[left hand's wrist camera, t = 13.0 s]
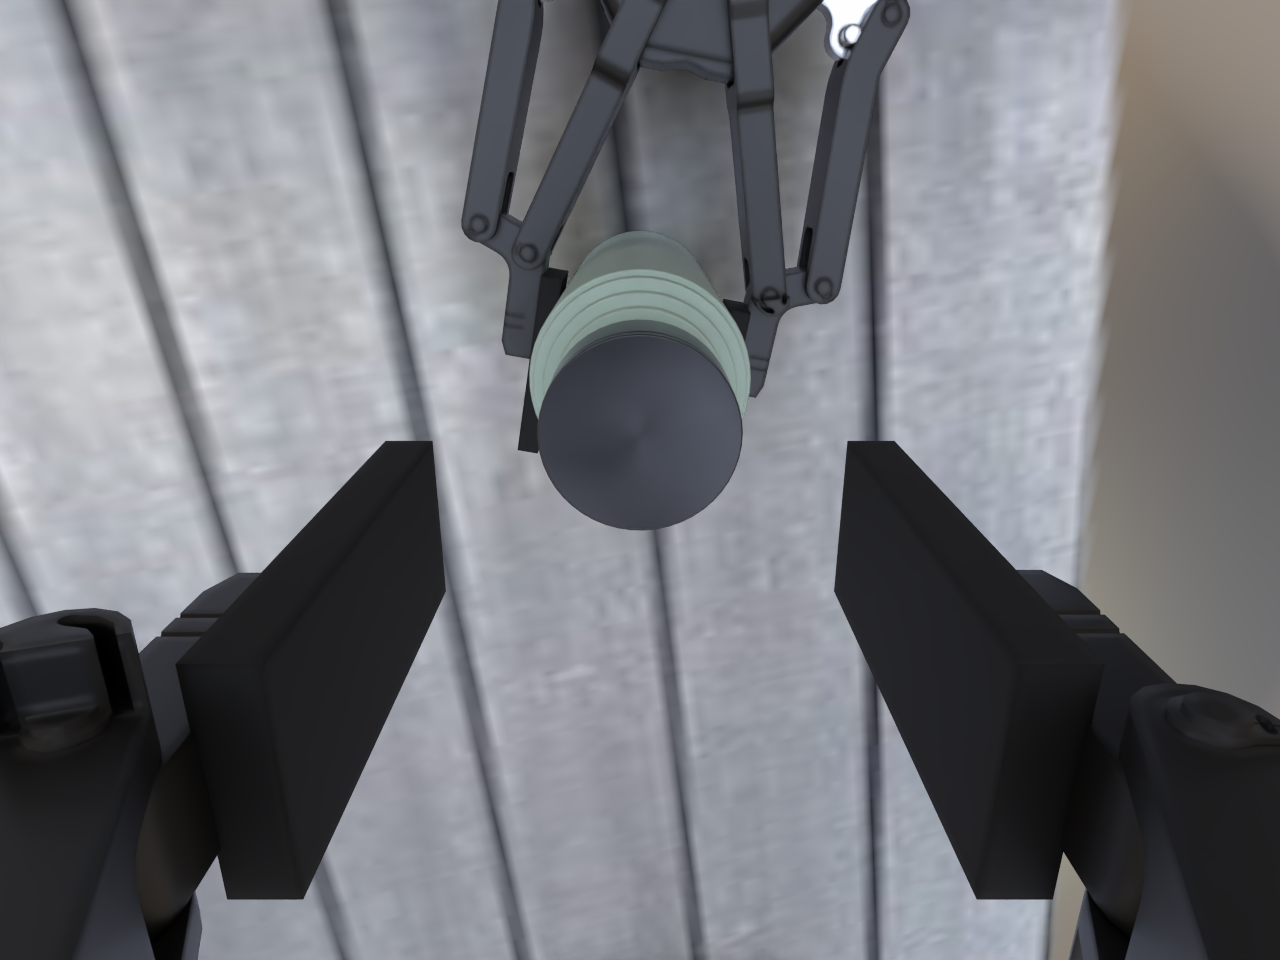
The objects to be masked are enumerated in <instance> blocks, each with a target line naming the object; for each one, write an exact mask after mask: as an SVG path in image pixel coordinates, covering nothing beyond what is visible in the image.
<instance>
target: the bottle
mask: <svg viewBox="0 0 1280 960" xmlns="http://www.w3.org/2000/svg"><path fill="white" fill-rule="evenodd" d="M636 319H637V320H653V321H659V322H664V323H667V324H670V325H674V326H676V327H678V328H681V329H683V330H685V331H687V332H688V333H690V334H691V335H693V336H695V337H696V338H697V339H699V340H700V341H701V342H702V343H704V344H705V345H706V346H707V347H708V348H709V349H710V350H711V352H712V353H713V354H714V355H715V356H716V358H717V359H718V361H719V362H720V364H721V365H722V367H723V369H724V371H725V373H726V375H727V377H728V379H729V382H730V384H731V386H732V389H733V391H734V394H735V396H736V399H737V402H738V405H739V408H740V413H741V418H743V415H744V412H745V410H746V407H747V403H748V398H749V393H750V381H751V374H750V362H749V357H748V351H747V348H746V345H745V342H744V339H743V336H742V334H741V332H740V330H739V328H738V326H737V324H736V322H735V321H734V319H733V318H732V316H731V314H730V313H729V311H728V310H727V308H726V306H725V305H724V303H723V302H722V300H721V299H720V297H719V295H718V294H717V292H716V291H715V289H714V288H713V286H712V284H711V283H710V281H709V280H708V278H707V277H706V275H705V273H704V272H703V270H702V269H701V267H700V266H699V264H698V263H697V261H696V260H695V258H694V257H693V256H692V255H691V253H690V252H689V251H688V250H687V249H686V248H684V247H683V246H682V245H681V244H679V243H678V242H676V241H675V240H673V239H671V238H669V237H667V236H665V235H662V234H659V233H655V232H649V231H631V232H625V233H621V234H618V235H616V236H613V237H611V238H609V239H607V240H605V241H603V242H602V243H601V244H599V245H598V246H597V247H595V248H594V249H593V250H592V251H591V252H590V253H589V254H588V256H587V257H586V258H585V260H584V261H583V262H582V264H581V265H580V267H579V269H578V270H577V272H576V273H575V275H574V277H573V278H572V280H571V281H570V283H569V284H568V286H567V288H566V289H565V291H564V292H563V294H562V295H561V297H560V299H559V300H558V302H557V303H556V305H555V306H554V308H553V310H552V311H551V313H550V314H549V316H548V318H547V319H546V321H545V323H544V324H543V326H542V328H541V330H540V332H539V334H538V337H537V339H536V342H535V344H534V348H533V352H532V356H531V363H530V371H529V376H530V392H531V398H532V402H533V406H534V409H535V413H536V415H537V418H538V419H539V413H540V409H541V405H542V401H543V399H544V397H545V394H546V392H547V389H548V387H549V385H550V382H551V380H552V378H553V375H554V373H555V371H556V369H557V367H558V366H559V364H560V362H561V360H562V359H563V358H564V357H565V355H566V354H567V353H568V351H569V350H570V349H571V348H572V347H573V346H574V345H575V344H577V343H578V342H579V341H580V340H581V339H583V338H584V337H585V336H587V335H588V334H590V333H592V332H594V331H595V330H597V329H599V328H602V327H604V326H607V325H609V324H612V323H617V322H621V321H627V320H636Z"/></svg>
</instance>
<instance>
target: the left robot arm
mask: <svg viewBox="0 0 1280 960" xmlns="http://www.w3.org/2000/svg"><path fill="white" fill-rule="evenodd" d="M445 592H446V588H445V576H444V565H443V554H442V543H441V532H440V520H439V509H438V498H437V487H436V476H435V465H434V453H433V442H432V441H385V442H384V443H383V444H382V445H381V447H380V448H379V449H378V450H377V451H376V452H375V453H374V454H373V455H372V456H371V457H370V458H369V459H368V460H367V461H366V462H365V463H364V465H363V466H362V467H361V468H360V469H359V470H358V471H357V472H356V473H355V474H354V475H353V476H352V477H351V478H350V479H349V480H348V481H347V483H346V484H345V485H344V486H343V487H342V488H341V489H340V490H339V491H338V492H337V493H336V494H335V495H334V496H333V497H332V498H331V499H330V501H329V502H328V503H327V504H326V505H325V506H324V507H323V508H322V509H321V510H320V511H319V512H318V513H317V514H316V515H315V516H314V518H313V519H312V520H311V521H310V522H309V523H308V524H307V525H306V526H305V527H304V528H303V529H302V530H301V531H300V532H299V533H298V534H297V536H296V537H295V538H294V539H293V540H292V541H291V542H290V543H289V544H288V545H287V546H286V547H285V548H284V549H283V550H282V551H281V552H280V554H279V555H278V556H277V557H276V558H275V559H274V560H273V561H272V562H271V563H270V564H269V565H268V566H267V567H266V568H265V569H264V570H263V572H262V573H238V574H236V575H234V576H232V577H230V578H228V579H226V580H224V581H222V582H221V583H219V584H217V585H215V586H213V587H211V588H209V589H207V590H205V591H204V592H202V593H201V594H200V595H199V596H198V597H197V598H196V599H195V600H194V601H193V602H192V603H191V604H190V605H189V606H188V607H187V608H186V609H185V610H184V611H183V612H182V613H181V616H180V618H175V619H174V620H173V621H172V622H171V623H170V624H169V625H168V626H167V627H166V628H165V629H164V630H163V631H162V632H161V637H156V638H155V639H153V640H152V641H151V642H150V643H149V644H148V645H147V646H146V647H145V648H144V649H143V650H142V651H141V652H140V653H138V649H137V644H136V640H135V636H134V632H133V628H132V623H131V620H130V619H129V618H127V617H126V616H124V615H122V614H121V613H119V612H118V611H111V610H104V609H97V608H89V609H74V610H63V611H58V612H54V613H49V614H44V615H40V616H35V617H31V618H28V619H25V620H22V621H19V622H16V623H13V624H11V625H8V626H5V627H2V628H0V960H197V959H198V952H199V946H200V939H201V933H202V924H201V916H200V909H199V905H198V901H197V897H196V893H195V890H196V888H197V887H198V885H199V884H200V882H201V880H202V879H203V877H204V876H205V874H206V872H207V871H208V869H209V867H210V866H211V864H212V863H213V861H214V859H215V858H216V856H217V855H218V859H219V864H220V868H221V873H222V878H223V882H224V887H225V891H226V896H227V899H304V896H305V894H306V892H307V890H308V888H309V886H310V883H311V881H312V879H313V877H314V875H315V873H316V871H317V868H318V866H319V864H320V862H321V860H322V858H323V855H324V853H325V851H326V849H327V847H328V845H329V842H330V840H331V838H332V836H333V834H334V832H335V829H336V827H337V825H338V823H339V821H340V819H341V817H342V814H343V812H344V810H345V808H346V806H347V804H348V801H349V799H350V797H351V795H352V793H353V791H354V788H355V786H356V784H357V782H358V780H359V778H360V775H361V773H362V771H363V769H364V767H365V765H366V763H367V760H368V758H369V756H370V754H371V752H372V750H373V747H374V745H375V743H376V741H377V739H378V737H379V734H380V732H381V730H382V728H383V726H384V724H385V721H386V719H387V717H388V715H389V713H390V711H391V709H392V706H393V704H394V702H395V700H396V698H397V696H398V693H399V691H400V689H401V687H402V685H403V683H404V680H405V678H406V676H407V674H408V672H409V670H410V667H411V665H412V663H413V661H414V659H415V657H416V655H417V652H418V650H419V648H420V646H421V644H422V642H423V639H424V637H425V635H426V633H427V631H428V629H429V626H430V624H431V622H432V620H433V618H434V616H435V613H436V611H437V609H438V607H439V605H440V603H441V600H442V598H443V596H444V594H445ZM834 592H835V594H836V596H837V598H838V600H839V603H840V605H841V607H842V609H843V611H844V613H845V616H846V618H847V620H848V622H849V624H850V626H851V629H852V631H853V633H854V635H855V637H856V639H857V642H858V644H859V646H860V648H861V650H862V652H863V655H864V657H865V659H866V661H867V663H868V665H869V667H870V670H871V672H872V674H873V676H874V678H875V680H876V683H877V685H878V687H879V689H880V691H881V693H882V696H883V698H884V700H885V702H886V704H887V706H888V709H889V711H890V713H891V715H892V717H893V719H894V721H895V724H896V726H897V728H898V730H899V732H900V734H901V737H902V739H903V741H904V743H905V745H906V747H907V750H908V752H909V754H910V756H911V758H912V760H913V763H914V765H915V767H916V769H917V771H918V773H919V775H920V778H921V780H922V782H923V784H924V786H925V788H926V791H927V793H928V795H929V797H930V799H931V801H932V804H933V806H934V808H935V810H936V812H937V814H938V817H939V819H940V821H941V823H942V825H943V827H944V829H945V832H946V834H947V836H948V838H949V840H950V842H951V845H952V847H953V849H954V851H955V853H956V855H957V858H958V860H959V862H960V864H961V866H962V868H963V871H964V873H965V875H966V877H967V879H968V881H969V883H970V886H971V888H972V890H973V892H974V894H975V896H976V899H1053V896H1054V891H1055V887H1056V882H1057V878H1058V873H1059V868H1060V864H1061V859H1062V855H1063V852H1064V853H1065V855H1066V856H1067V858H1068V860H1069V861H1070V863H1071V865H1072V866H1073V868H1074V869H1075V871H1076V873H1077V874H1078V876H1079V877H1080V879H1081V881H1082V882H1083V884H1084V885H1085V887H1086V888H1085V893H1084V897H1083V901H1082V905H1081V909H1080V914H1079V918H1078V922H1077V926H1076V931H1075V935H1074V939H1073V943H1072V947H1071V952H1070V956H1069V960H1280V720H1279V719H1278V718H1276V717H1275V716H1273V715H1271V714H1270V713H1268V712H1267V711H1265V710H1264V709H1262V708H1260V707H1259V706H1257V705H1254V704H1252V703H1249V702H1247V701H1245V700H1242V699H1240V698H1237V697H1235V696H1233V695H1230V694H1228V693H1224V692H1220V691H1216V690H1212V689H1208V688H1204V687H1200V686H1196V685H1186V684H1177V683H1176V682H1175V681H1174V680H1173V679H1172V678H1171V677H1169V676H1168V675H1167V674H1166V673H1165V672H1164V671H1163V670H1162V669H1161V668H1160V667H1159V666H1158V665H1157V664H1156V663H1155V662H1154V661H1153V660H1152V659H1151V658H1150V657H1148V656H1147V655H1146V654H1145V653H1144V652H1143V651H1142V650H1141V649H1140V648H1139V647H1138V646H1137V645H1136V644H1135V643H1134V642H1133V641H1132V640H1131V639H1130V638H1129V637H1127V636H1126V635H1125V634H1124V633H1120V632H1119V628H1118V627H1117V626H1116V625H1115V624H1114V623H1113V622H1112V621H1111V620H1110V619H1109V618H1108V617H1107V616H1105V615H1101V614H1100V610H1099V609H1098V608H1097V607H1096V606H1095V605H1094V604H1093V603H1092V602H1091V601H1090V600H1089V599H1088V598H1087V597H1086V596H1085V595H1083V594H1082V593H1081V592H1080V591H1079V590H1078V589H1077V588H1075V587H1073V586H1071V585H1069V584H1068V583H1066V582H1064V581H1062V580H1060V579H1058V578H1056V577H1054V576H1052V575H1050V574H1048V573H1047V572H1045V571H1043V570H1016V569H1015V568H1014V567H1013V566H1012V565H1011V564H1010V563H1009V562H1008V561H1007V560H1006V559H1005V558H1004V557H1003V556H1002V555H1001V554H1000V552H999V551H998V550H997V549H996V548H995V547H994V546H993V545H992V544H991V543H990V542H989V541H988V540H987V539H986V538H985V537H984V536H983V534H982V533H981V532H980V531H979V530H978V529H977V528H976V527H975V526H974V525H973V524H972V523H971V522H970V521H969V520H968V519H967V518H966V516H965V515H964V514H963V513H962V512H961V511H960V510H959V509H958V508H957V507H956V506H955V505H954V504H953V503H952V502H951V501H950V499H949V498H948V497H947V496H946V495H945V494H944V493H943V492H942V491H941V490H940V489H939V488H938V487H937V486H936V485H935V484H934V483H933V481H932V480H931V479H930V478H929V477H928V476H927V475H926V474H925V473H924V472H923V471H922V470H921V469H920V468H919V467H918V466H917V465H916V463H915V462H914V461H913V460H912V459H911V458H910V457H909V456H908V455H907V454H906V453H905V452H904V451H903V450H902V449H901V448H900V447H899V445H898V444H897V443H896V442H895V441H848V442H847V453H846V465H845V476H844V487H843V498H842V509H841V520H840V532H839V543H838V554H837V565H836V576H835V588H834Z"/></svg>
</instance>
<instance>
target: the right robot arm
mask: <svg viewBox="0 0 1280 960" xmlns="http://www.w3.org/2000/svg"><path fill="white" fill-rule="evenodd" d="M550 1H553V0H498V6H497V12H496V18H495V24H494V30H493V36H492V42H491V48H490V54H489V60H488V66H487V72H486V78H485V84H484V89H483V95H482V101H481V107H480V113H479V119H478V125H477V131H476V137H475V143H474V149H473V155H472V161H471V167H470V173H469V179H468V185H467V190H466V196H465V202H464V208H463V214H462V229H463V232H464V234H465V235H466V236H467V237H468V238H469V239H470V240H473V241H475V242H480V243H482V244H483V245H485V246H487V247H488V248H490V249H492V250H494V251H495V252H497V253H498V254H500V255H501V256H502V257H503V258H504V259H505V260H506V262H507V264H508V267H509V271H510V277H509V285H508V294H507V302H506V310H505V319H504V327H503V335H502V343H503V347H504V350H505V354H506V355H510V356H516V357H522V358H528V359H530V362H529V369H528V377H527V384H526V392H525V399H524V407H523V414H522V422H521V429H520V437H519V444H518V450H521V451H527V452H533V453H538V451H539V445H538V418H537V415H536V413H535V409H534V406H533V402H532V398H531V392H530V376H529V371H530V363H531V356H532V352H533V348H534V344H535V342H536V339H537V337H538V334H539V332H540V330H541V328H542V326H543V324H544V323H545V321H546V319H547V318H548V316H549V314H550V313H551V311H552V310H553V308H554V306H555V305H556V303H557V302H558V300H559V299H560V297H561V295H562V294H563V292H564V291H565V289H566V284H567V277H568V271H565V270H560V269H554V268H548V267H549V259H550V256H551V254H552V251H553V249H554V247H555V244H556V242H557V240H558V238H559V236H560V234H561V232H562V230H563V228H564V226H565V223H566V221H567V219H568V217H569V215H570V213H571V211H572V209H573V207H574V204H575V202H576V200H577V198H578V196H579V194H580V192H581V190H582V188H583V185H584V183H585V181H586V179H587V177H588V175H589V173H590V171H591V169H592V166H593V164H594V162H595V160H596V158H597V156H598V154H599V152H600V150H601V148H602V145H603V143H604V141H605V139H606V137H607V135H608V133H609V131H610V129H611V126H612V124H613V122H614V120H615V118H616V116H617V114H618V112H619V110H620V107H621V105H622V103H623V101H624V99H625V97H626V95H627V93H628V92H629V90H630V88H631V86H632V84H633V82H634V80H635V77H636V75H637V73H638V71H639V69H640V67H644V68H649V69H654V70H660V71H665V70H675V69H686V70H688V71H690V72H692V73H694V74H696V75H698V76H700V77H702V78H704V79H706V80H711V81H716V82H721V83H725V89H726V100H727V108H728V113H729V118H730V128H731V139H732V150H733V161H734V172H735V183H736V194H737V205H738V216H739V227H740V238H741V249H742V260H743V271H744V282H745V291H746V294H745V299H744V303H742V302H737V301H732V300H726V299H723V303H724V305H725V306H726V308H727V310H728V311H729V313H730V314H731V316H732V318H733V319H734V321H735V322H736V324H737V326H738V328H739V330H740V332H741V334H742V336H743V339H744V342H745V345H746V348H747V351H748V357H749V362H750V374H751V381H750V393H749V397H755V398H756V396H757V395H758V393H759V392H760V390H761V389H762V388H763V386H764V383H765V378H766V374H767V369H768V365H769V360H770V357H771V352H772V348H773V344H774V340H775V335H776V331H777V327H778V323H779V320H780V318H781V317H782V315H783V314H784V313H785V312H786V311H788V310H789V309H791V308H794V307H797V306H803V305H808V304H814V303H818V304H827V303H829V302H831V301H833V300H834V299H835V298H836V297H837V296H838V294H839V291H840V288H841V283H842V278H843V272H844V267H845V261H846V256H847V251H848V245H849V240H850V234H851V229H852V223H853V218H854V213H855V207H856V202H857V196H858V191H859V186H860V180H861V175H862V169H863V164H864V158H865V153H866V148H867V142H868V137H869V131H870V126H871V121H872V115H873V110H874V104H875V99H876V93H877V88H878V83H879V77H880V74H881V73H882V71H883V69H884V67H885V65H886V63H887V61H888V59H889V57H890V56H891V54H892V52H893V50H894V48H895V46H896V44H897V42H898V41H899V39H900V37H901V35H902V33H903V31H904V29H905V27H906V25H907V23H908V20H909V17H910V7H909V4H908V2H907V0H599V1H600V3H601V5H602V8H603V10H604V12H605V14H606V17H607V19H608V21H609V23H610V26H611V27H610V29H609V31H608V33H607V35H606V38H605V40H604V42H603V44H602V46H601V48H600V51H599V53H598V55H597V58H596V60H595V63H594V66H593V69H592V71H591V74H590V76H589V78H588V81H587V83H586V85H585V87H584V89H583V91H582V94H581V96H580V98H579V100H578V102H577V105H576V107H575V109H574V111H573V113H572V116H571V118H570V120H569V122H568V124H567V126H566V129H565V131H564V133H563V135H562V137H561V140H560V142H559V144H558V146H557V148H556V151H555V153H554V155H553V157H552V159H551V161H550V164H549V166H548V168H547V170H546V172H545V175H544V177H543V179H542V181H541V183H540V186H539V188H538V190H537V192H536V194H535V196H534V199H533V201H532V203H531V205H530V207H529V210H528V212H527V214H526V216H525V218H524V221H523V222H521V221H519V220H518V219H516V218H514V217H513V216H511V215H509V214H508V213H509V208H510V202H511V197H512V192H513V186H514V181H515V176H516V170H517V165H518V160H519V154H520V149H521V143H522V138H523V133H524V127H525V122H526V117H527V111H528V106H529V100H530V95H531V90H532V84H533V79H534V74H535V68H536V63H537V58H538V52H539V47H540V41H541V35H542V27H543V3H545V2H550ZM815 9H818V10H819V11H820V12H822V14H823V15H824V17H825V19H826V23H827V30H826V35H825V39H824V47H825V50H826V52H827V54H828V56H830V57H831V58H832V59H833V60H835V63H834V65H833V68H832V71H831V74H830V77H829V80H828V85H827V89H826V94H825V100H824V106H823V112H822V118H821V124H820V130H819V136H818V142H817V148H816V154H815V160H814V166H813V172H812V178H811V184H810V190H809V196H808V202H807V208H806V214H805V220H804V226H803V232H802V238H801V245H800V251H799V257H798V263H797V267H794V268H788V269H785V261H784V247H783V234H782V220H781V207H780V193H779V180H778V166H777V153H776V139H775V126H774V112H773V103H774V80H773V66H772V53H773V52H774V51H775V50H776V49H777V48H778V47H779V46H780V45H781V44H782V43H783V42H784V41H785V40H786V39H787V38H788V37H789V36H790V35H791V34H792V33H793V32H794V31H795V30H796V29H797V28H798V27H799V25H800V24H801V23H802V22H803V21H804V20H805V19H806V18H807V17H808V16H809V15H810V14H811V13H812V12H813V11H814V10H815Z"/></svg>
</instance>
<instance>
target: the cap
mask: <svg viewBox="0 0 1280 960" xmlns="http://www.w3.org/2000/svg"><path fill="white" fill-rule="evenodd" d="M742 435H743V429H742V418H741V413H740V408H739V405H738V402H737V399H736V396H735V394H734V391H733V389H732V386H731V384H730V382H729V379H728V377H727V375H726V373H725V371H724V369H723V367H722V365H721V364H720V362H719V361H718V359H717V358H716V356H715V355H714V354H713V353H712V352H711V350H710V349H709V348H708V347H707V346H706V345H705V344H704V343H702V342H701V341H700V340H699V339H697V338H696V337H695V336H693V335H691V334H690V333H688V332H687V331H685V330H683V329H681V328H678V327H676V326H674V325H670V324H667V323H664V322H659V321H653V320H637V319H636V320H627V321H621V322H617V323H612V324H609V325H607V326H604V327H602V328H599V329H597V330H595V331H594V332H592V333H590V334H588V335H587V336H585V337H584V338H583V339H581V340H580V341H579V342H578V343H577V344H575V345H574V346H573V347H572V348H571V349H570V350H569V351H568V353H567V354H566V355H565V357H564V358H563V359H562V360H561V362H560V364H559V366H558V367H557V369H556V371H555V373H554V375H553V378H552V380H551V382H550V385H549V387H548V389H547V392H546V394H545V397H544V399H543V401H542V405H541V409H540V413H539V419H538V445H539V452H540V456H541V459H542V462H543V465H544V468H545V470H546V472H547V474H548V477H549V478H550V480H551V481H552V483H553V485H554V486H555V488H556V489H557V490H558V491H559V493H560V494H561V495H562V496H563V498H564V499H566V500H567V501H568V502H569V503H570V504H571V505H572V506H573V507H574V508H576V509H577V510H578V511H580V512H581V513H583V514H584V515H586V516H588V517H590V518H591V519H593V520H595V521H598V522H600V523H603V524H605V525H609V526H612V527H616V528H621V529H627V530H653V529H659V528H664V527H669V526H672V525H674V524H677V523H680V522H682V521H684V520H687V519H689V518H691V517H693V516H694V515H696V514H697V513H699V512H700V511H702V510H703V509H704V508H706V507H707V506H708V505H709V504H710V503H711V502H713V501H714V500H715V498H716V497H717V496H718V495H719V494H720V493H721V492H722V490H723V489H724V488H725V486H726V485H727V483H728V482H729V480H730V478H731V476H732V474H733V472H734V470H735V468H736V465H737V462H738V460H739V456H740V451H741V447H742Z"/></svg>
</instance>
